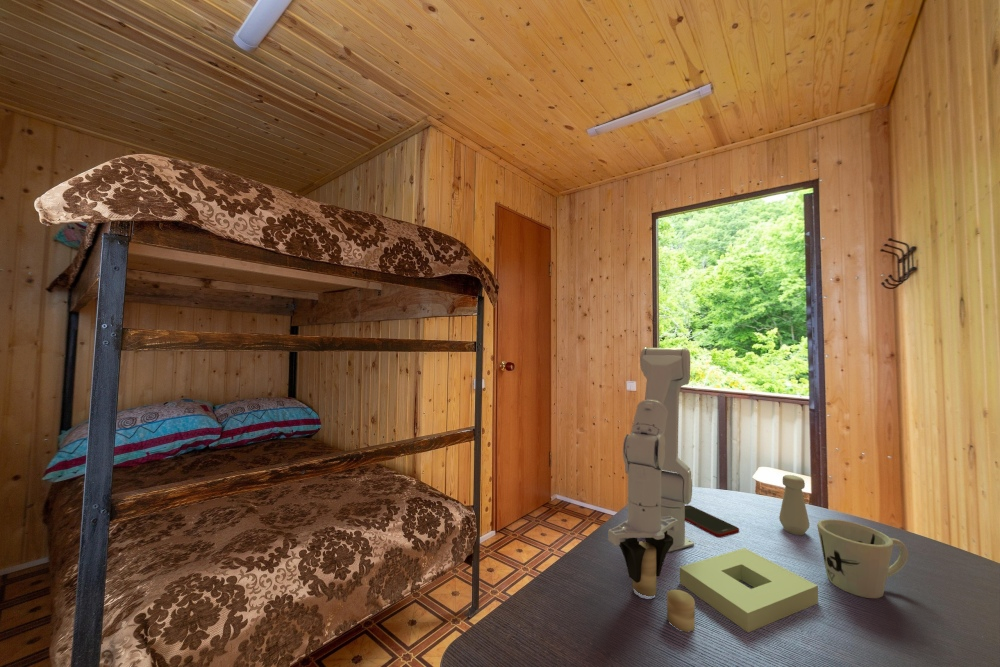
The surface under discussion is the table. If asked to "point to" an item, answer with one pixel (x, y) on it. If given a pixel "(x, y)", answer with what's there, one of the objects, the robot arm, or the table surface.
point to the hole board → (740, 604)
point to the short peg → (681, 610)
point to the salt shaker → (794, 506)
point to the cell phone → (709, 522)
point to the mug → (858, 557)
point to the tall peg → (647, 571)
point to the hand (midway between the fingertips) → (644, 576)
